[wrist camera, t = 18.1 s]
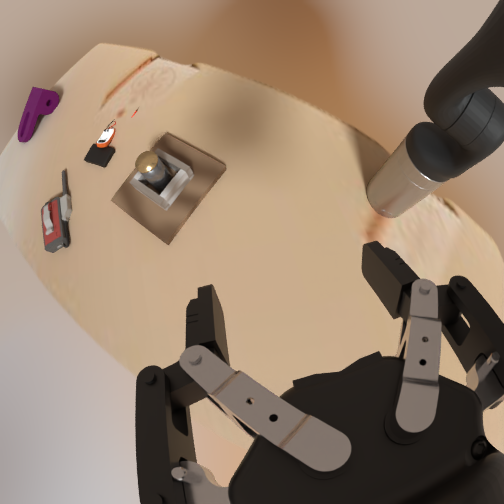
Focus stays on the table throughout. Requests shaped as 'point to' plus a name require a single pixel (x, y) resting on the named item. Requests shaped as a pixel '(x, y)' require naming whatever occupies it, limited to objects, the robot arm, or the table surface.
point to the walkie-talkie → (56, 220)
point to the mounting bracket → (36, 111)
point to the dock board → (169, 188)
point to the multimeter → (102, 148)
